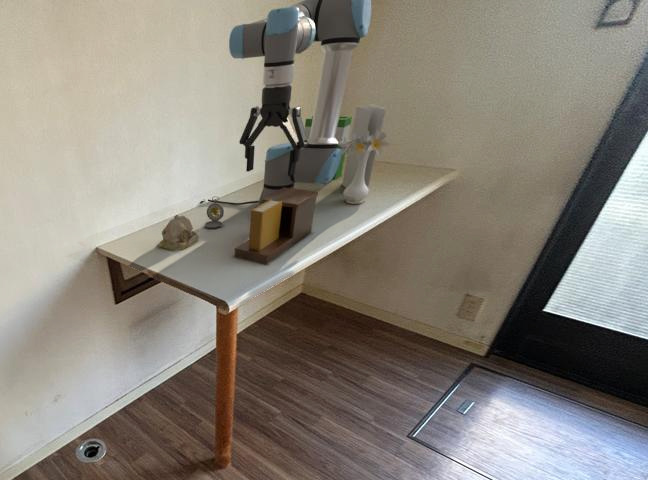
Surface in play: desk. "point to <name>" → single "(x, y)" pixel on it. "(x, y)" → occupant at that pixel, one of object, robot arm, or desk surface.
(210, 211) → the pocket watch
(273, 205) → the ochre book
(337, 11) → the robot arm
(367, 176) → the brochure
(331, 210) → the desk surface
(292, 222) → the step shelf
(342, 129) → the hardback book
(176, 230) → the ceramic model
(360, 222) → the desk surface
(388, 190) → the desk surface
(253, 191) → the desk surface
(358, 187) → the flower vase
